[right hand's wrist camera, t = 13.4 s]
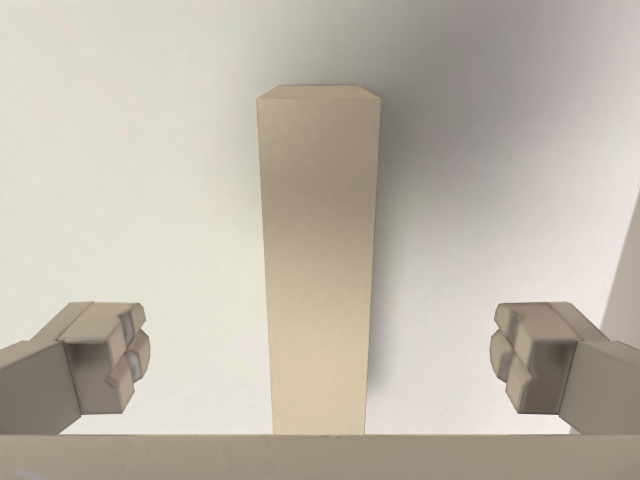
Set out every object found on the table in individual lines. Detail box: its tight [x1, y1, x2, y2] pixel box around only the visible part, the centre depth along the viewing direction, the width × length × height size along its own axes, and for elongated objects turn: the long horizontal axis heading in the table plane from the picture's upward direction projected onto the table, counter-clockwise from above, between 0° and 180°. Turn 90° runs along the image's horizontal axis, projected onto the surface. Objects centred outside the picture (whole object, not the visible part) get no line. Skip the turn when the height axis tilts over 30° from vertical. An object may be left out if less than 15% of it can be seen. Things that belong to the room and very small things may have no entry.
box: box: [257, 85, 381, 435], centre depth 31 cm, size 26×6×12 cm, turn 0°
